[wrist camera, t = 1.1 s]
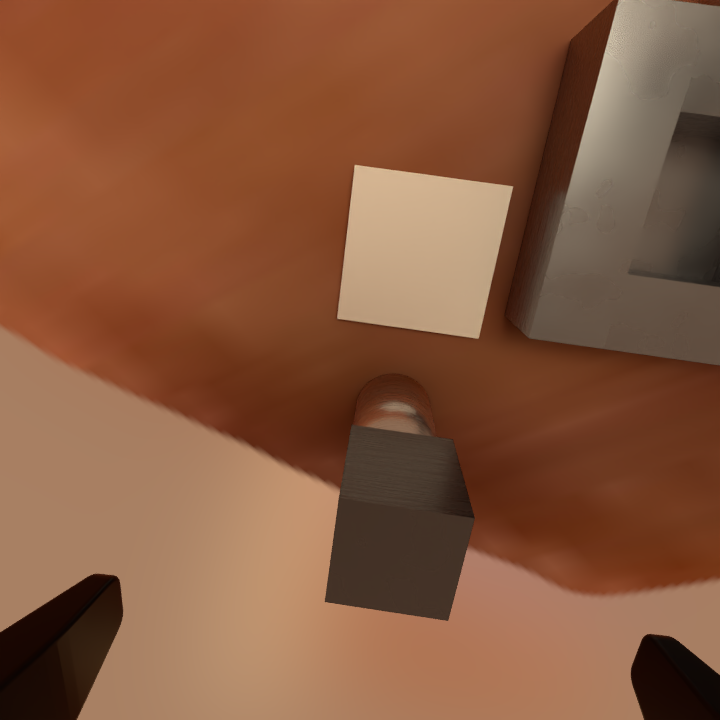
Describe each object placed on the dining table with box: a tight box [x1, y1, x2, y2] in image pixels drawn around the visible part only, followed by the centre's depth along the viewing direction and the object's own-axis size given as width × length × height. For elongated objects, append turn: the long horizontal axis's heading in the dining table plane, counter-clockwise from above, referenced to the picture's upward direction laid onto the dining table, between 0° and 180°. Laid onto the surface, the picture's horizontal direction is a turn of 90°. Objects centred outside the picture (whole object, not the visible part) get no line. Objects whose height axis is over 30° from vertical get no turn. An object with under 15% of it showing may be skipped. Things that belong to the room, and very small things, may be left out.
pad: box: [337, 165, 513, 339], centre depth 18 cm, size 6×6×1 cm
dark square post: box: [325, 374, 475, 621], centre depth 16 cm, size 3×3×10 cm
